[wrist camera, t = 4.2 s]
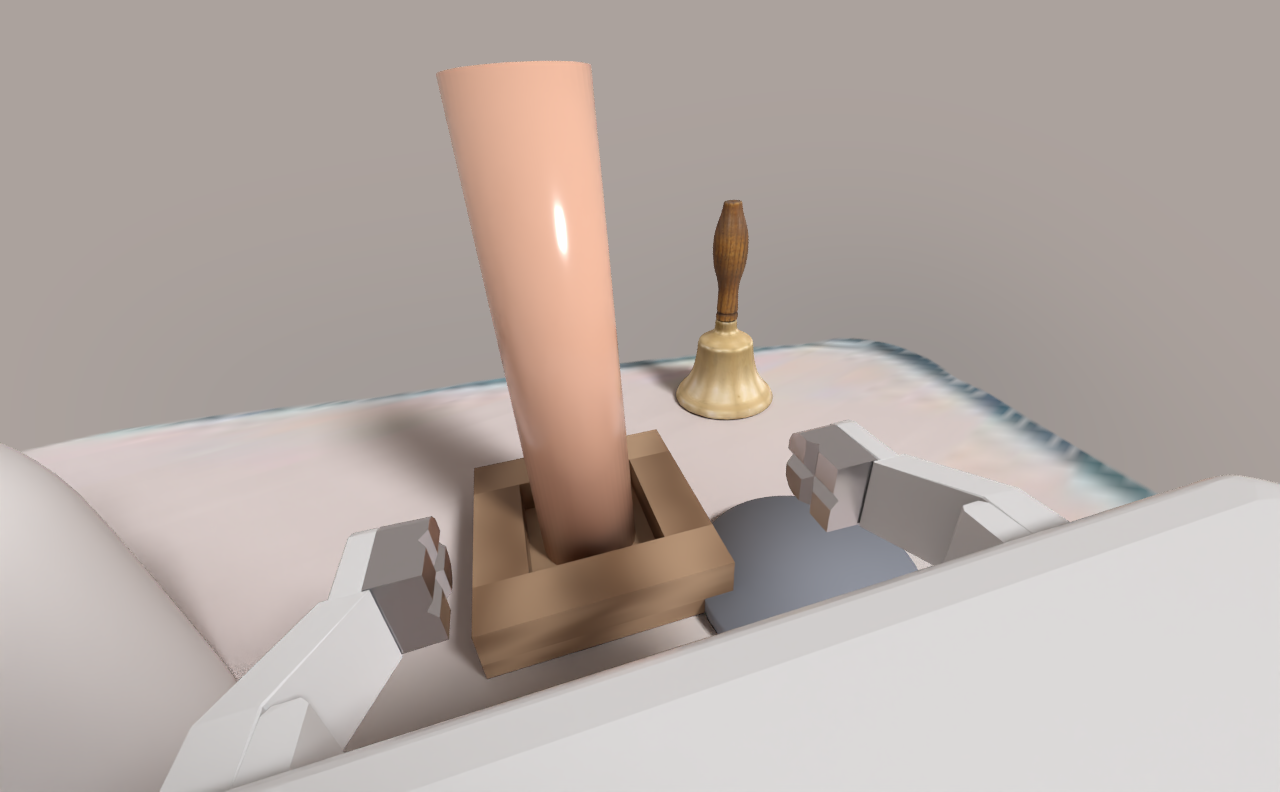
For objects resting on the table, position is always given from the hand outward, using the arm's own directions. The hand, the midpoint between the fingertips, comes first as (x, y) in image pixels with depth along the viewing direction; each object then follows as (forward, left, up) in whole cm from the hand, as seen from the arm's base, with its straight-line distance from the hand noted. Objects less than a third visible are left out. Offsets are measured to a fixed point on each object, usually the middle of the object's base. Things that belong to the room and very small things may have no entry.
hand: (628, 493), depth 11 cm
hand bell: (-16, +25, -14) cm, 33 cm away
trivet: (-1, +12, -14) cm, 18 cm away
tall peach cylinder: (-11, +6, -13) cm, 18 cm away
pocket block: (-11, +6, -14) cm, 19 cm away
